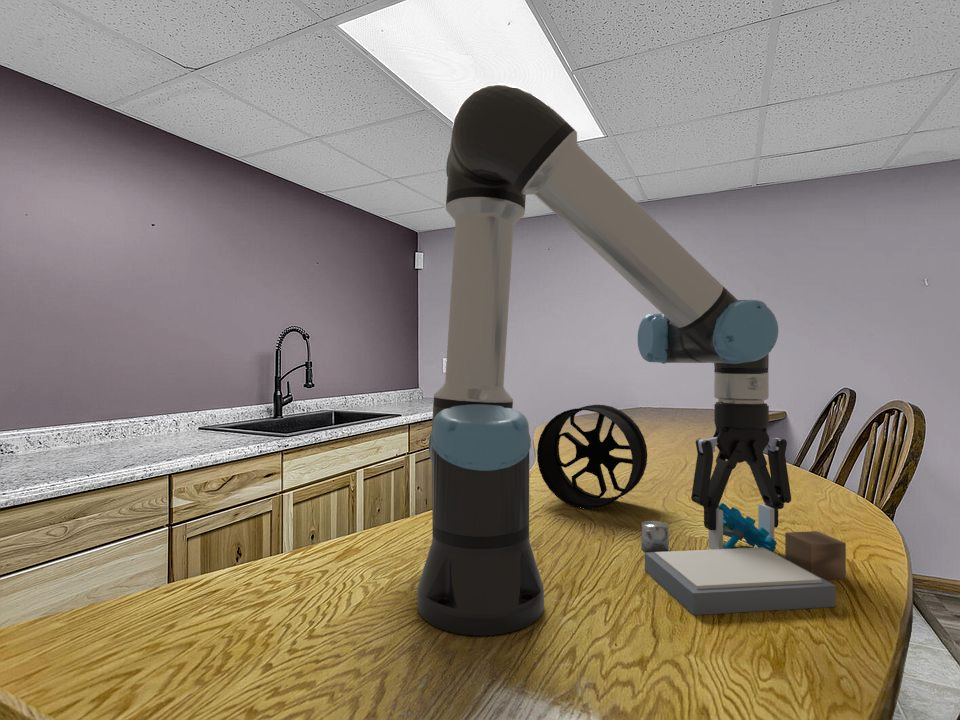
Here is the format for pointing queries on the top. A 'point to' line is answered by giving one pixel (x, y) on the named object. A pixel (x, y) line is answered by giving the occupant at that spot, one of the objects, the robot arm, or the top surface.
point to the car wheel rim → (590, 456)
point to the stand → (737, 581)
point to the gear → (743, 530)
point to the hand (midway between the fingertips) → (741, 549)
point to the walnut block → (817, 554)
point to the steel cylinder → (654, 536)
